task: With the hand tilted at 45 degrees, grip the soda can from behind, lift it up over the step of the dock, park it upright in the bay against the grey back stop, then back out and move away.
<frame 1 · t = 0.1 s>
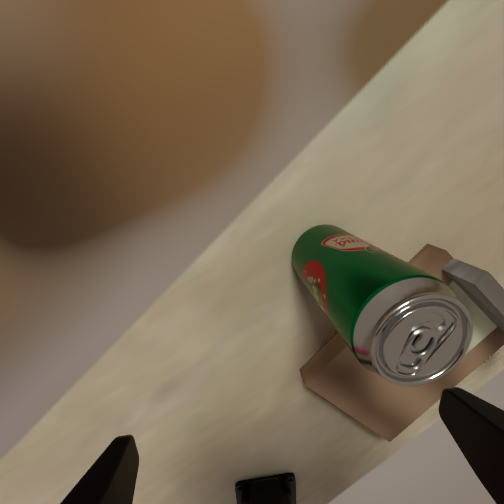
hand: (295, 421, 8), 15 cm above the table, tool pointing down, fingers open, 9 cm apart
soda can: (319, 252, 22), on the table
dock: (400, 343, 26), on the table
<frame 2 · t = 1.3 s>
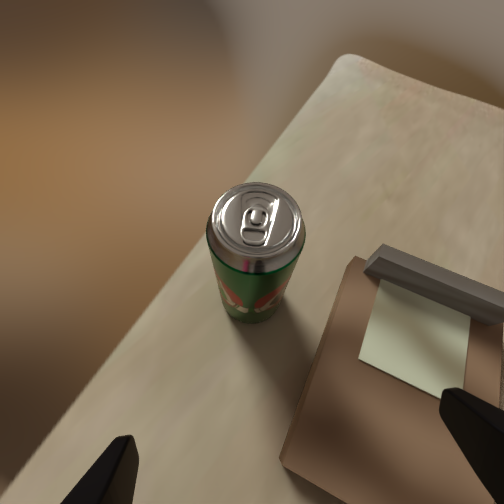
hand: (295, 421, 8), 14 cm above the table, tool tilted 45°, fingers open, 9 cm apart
soda can: (250, 296, 24), on the table
dock: (392, 383, 21), on the table
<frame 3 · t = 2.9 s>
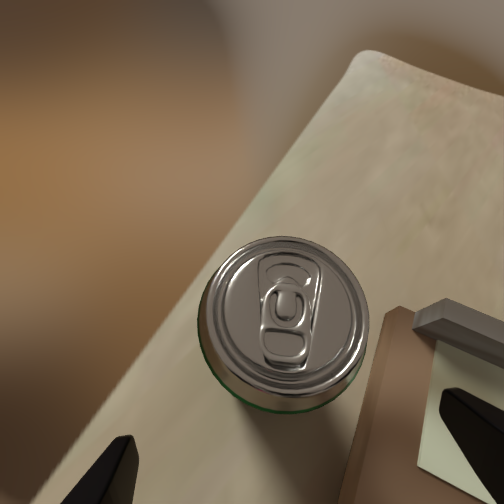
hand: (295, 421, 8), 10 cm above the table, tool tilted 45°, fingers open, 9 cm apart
soda can: (261, 358, 18), on the table
dock: (460, 491, 15), on the table
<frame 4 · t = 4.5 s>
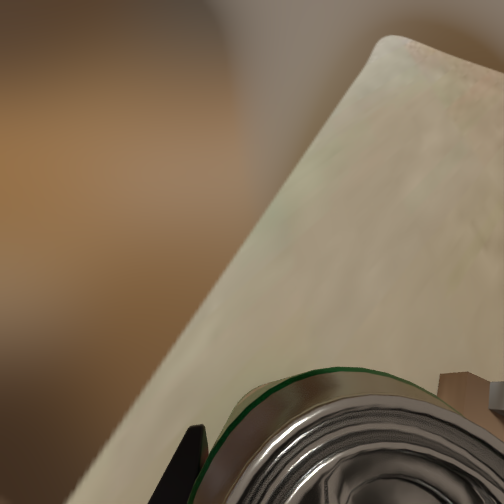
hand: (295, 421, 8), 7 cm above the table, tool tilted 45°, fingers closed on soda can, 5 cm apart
soda can: (276, 440, 13), on the table, touching gripper
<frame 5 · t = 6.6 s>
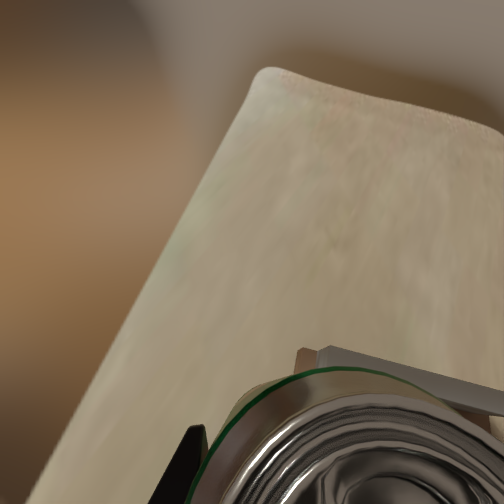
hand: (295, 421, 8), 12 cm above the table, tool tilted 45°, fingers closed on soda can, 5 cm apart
soda can: (276, 439, 13), point 5 cm above the table, touching gripper
when the fingers open (10 cm above the table, at t = 8.5 s): soda can stays where it is, resting on dock.
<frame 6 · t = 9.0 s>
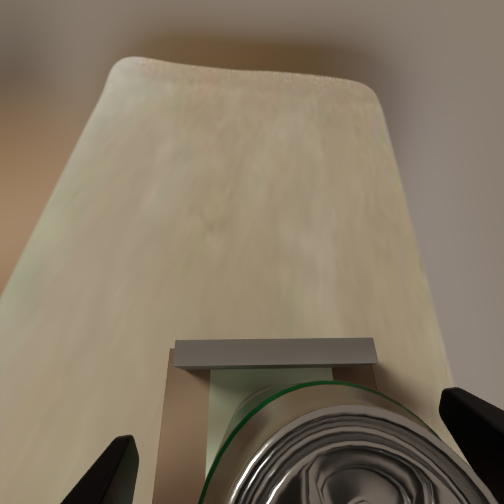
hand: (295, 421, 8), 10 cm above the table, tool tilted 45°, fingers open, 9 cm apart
soda can: (274, 440, 14), point 2 cm above the table, touching dock
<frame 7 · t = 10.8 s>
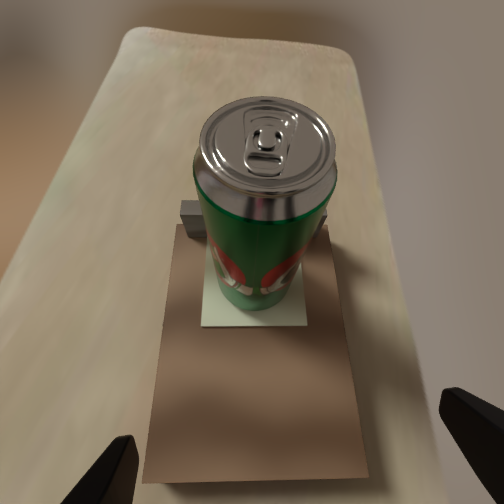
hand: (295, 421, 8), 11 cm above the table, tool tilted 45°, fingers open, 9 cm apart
soda can: (253, 279, 19), point 2 cm above the table, touching dock
dock: (253, 332, 20), on the table
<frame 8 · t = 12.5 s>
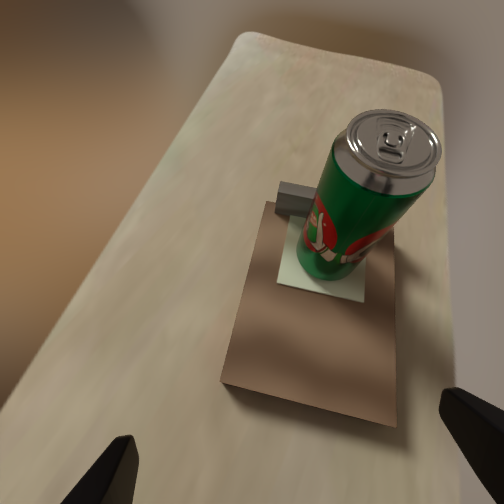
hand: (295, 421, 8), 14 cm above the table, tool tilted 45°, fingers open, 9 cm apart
soda can: (323, 256, 23), point 2 cm above the table, touching dock
dock: (313, 300, 23), on the table
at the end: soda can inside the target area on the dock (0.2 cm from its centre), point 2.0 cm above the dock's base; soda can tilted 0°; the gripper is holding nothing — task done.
